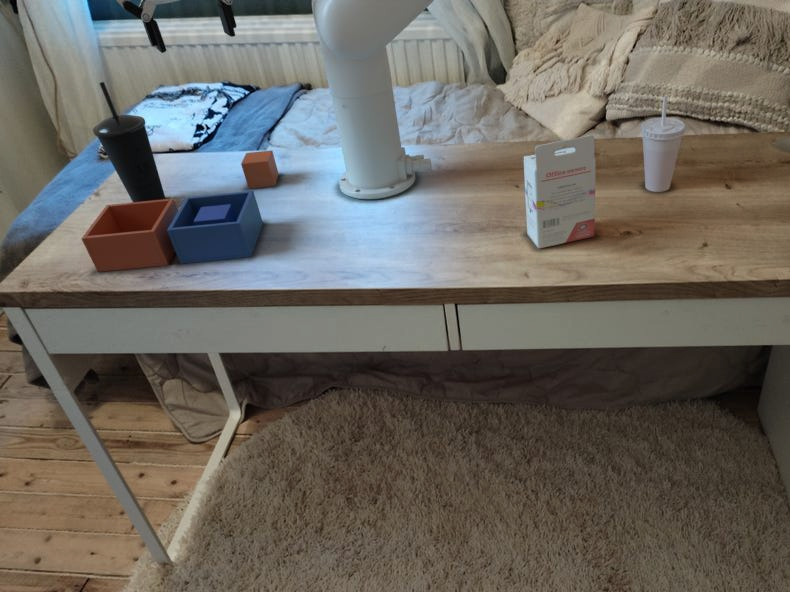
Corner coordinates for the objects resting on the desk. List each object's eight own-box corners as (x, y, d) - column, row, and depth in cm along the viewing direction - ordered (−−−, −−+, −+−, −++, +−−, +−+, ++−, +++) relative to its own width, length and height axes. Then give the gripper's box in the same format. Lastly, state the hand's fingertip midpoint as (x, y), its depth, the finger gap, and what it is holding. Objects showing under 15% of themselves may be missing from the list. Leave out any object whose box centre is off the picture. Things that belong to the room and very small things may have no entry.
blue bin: (263, 223, 110) (253, 190, 106) (250, 257, 102) (239, 223, 98) (197, 229, 110) (185, 197, 106) (180, 263, 102) (166, 230, 98)
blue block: (240, 230, 107) (231, 204, 104) (233, 245, 104) (224, 218, 101) (210, 233, 107) (200, 206, 104) (203, 248, 104) (193, 221, 101)
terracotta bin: (186, 230, 110) (174, 198, 106) (167, 265, 102) (153, 231, 98) (121, 237, 110) (106, 204, 106) (97, 272, 102) (81, 238, 98)
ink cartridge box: (581, 221, 102) (583, 121, 93) (595, 237, 99) (598, 135, 89) (525, 233, 101) (521, 133, 92) (537, 250, 97) (534, 147, 88)
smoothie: (634, 195, 107) (641, 103, 99) (637, 176, 112) (644, 87, 103) (678, 196, 106) (688, 103, 97) (679, 178, 111) (689, 87, 102)
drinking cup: (117, 211, 117) (63, 89, 104) (153, 191, 122) (105, 72, 109) (149, 219, 114) (97, 93, 101) (184, 198, 119) (139, 76, 106)
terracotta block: (279, 174, 123) (272, 150, 120) (274, 186, 120) (267, 161, 117) (253, 177, 123) (246, 152, 120) (248, 188, 120) (240, 163, 117)
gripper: (82, -90, 82) (139, 63, 93) (227, -112, 88) (264, 33, 99) (72, -94, 87) (127, 51, 98) (210, -115, 93) (247, 24, 104)
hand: (196, 42), depth 98 cm, fingers open, 9 cm apart
